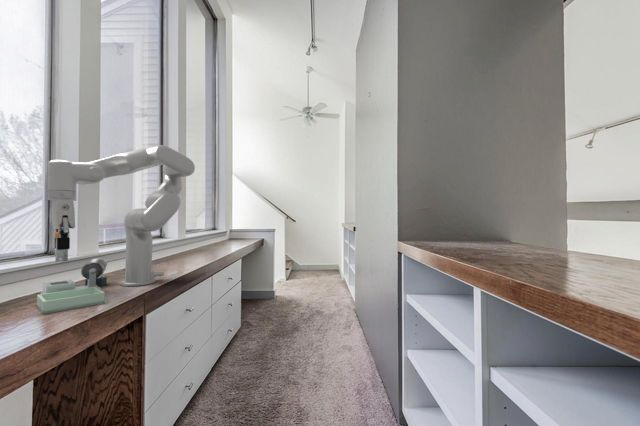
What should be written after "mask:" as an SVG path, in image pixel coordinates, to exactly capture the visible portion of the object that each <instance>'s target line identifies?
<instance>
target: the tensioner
mask: <svg viewBox="0 0 640 426" xmlns="http://www.w3.org/2000/svg"><path fill="white" fill-rule="evenodd" d="M102 271H103V269H102V266H101V265H100V264H98V263H94V262H91V263H90V262H88V263H86V264H84V265H83V266H82V268H81V270H80V273H81V275H82V277H83V278H85V280H86V279H88V285H87V286H85V285H82V286H81V285H80V286H76V283H77V282H76V281H74V280H72V279H67V280H59V281H50V282H43V283H42V291H40V294H47V293H54V292H61V291H68V290H75V289H82V288H89V287H96V288H98V289H100V290H102V287H99V286H97V285H96V278H98V277H99V276H100V275H101V274H102ZM102 291H103V290H102Z"/></svg>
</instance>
